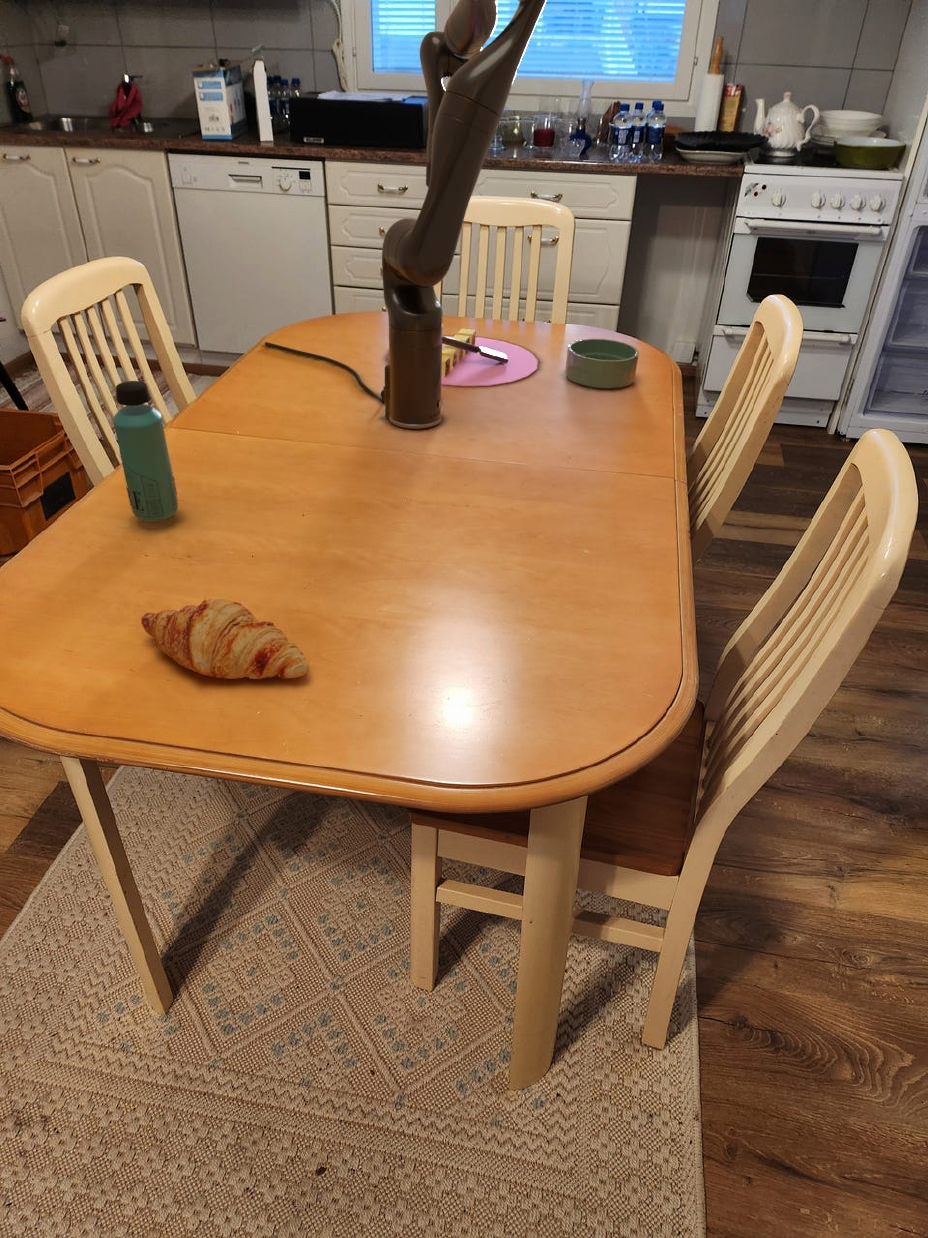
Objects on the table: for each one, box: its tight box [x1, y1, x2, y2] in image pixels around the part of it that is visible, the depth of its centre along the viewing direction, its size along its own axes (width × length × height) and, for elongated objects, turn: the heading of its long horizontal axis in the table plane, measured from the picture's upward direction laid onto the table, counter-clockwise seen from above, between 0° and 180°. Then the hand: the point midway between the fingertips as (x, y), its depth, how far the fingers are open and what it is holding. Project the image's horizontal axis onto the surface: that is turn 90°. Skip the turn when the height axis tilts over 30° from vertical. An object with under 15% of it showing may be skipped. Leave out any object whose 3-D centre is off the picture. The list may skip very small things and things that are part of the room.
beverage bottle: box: [112, 380, 180, 522], centre depth 118 cm, size 6×7×20 cm
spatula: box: [442, 335, 508, 363], centre depth 181 cm, size 18×4×11 cm
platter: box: [387, 328, 539, 387], centre depth 184 cm, size 32×32×3 cm
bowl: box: [564, 338, 640, 389], centre depth 177 cm, size 14×14×6 cm
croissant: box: [140, 598, 310, 680], centre depth 97 cm, size 21×10×8 cm, turn 71°
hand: (443, 251), depth 172 cm, fingers open, 8 cm apart
